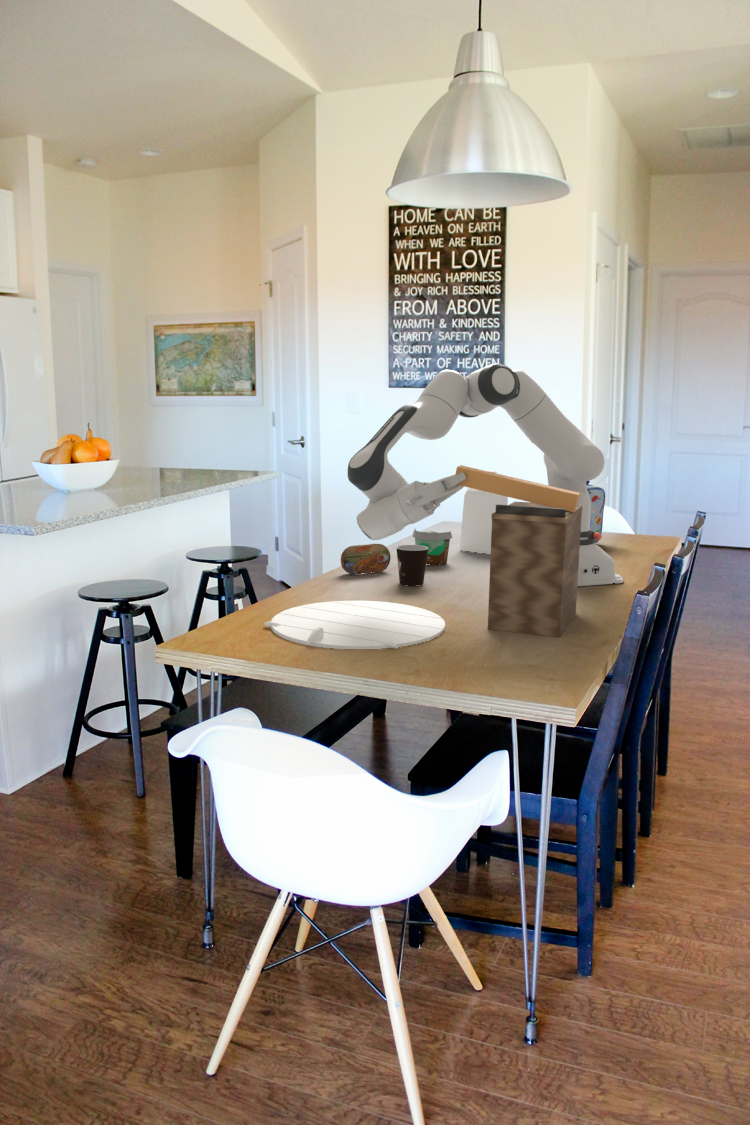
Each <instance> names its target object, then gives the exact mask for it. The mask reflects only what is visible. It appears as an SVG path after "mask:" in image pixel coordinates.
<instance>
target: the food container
mask: <svg viewBox="0 0 750 1125" xmlns="http://www.w3.org/2000/svg"><path fill="white" fill-rule="evenodd" d="M416 529H417V528H414V530H413V532H412V538H414V543H415V544H414V545H421V546H426V547H428V554H427V561H426V564H430V565H429V566H440V565H439V564H444V565H446V564H445V563H447V564H448V558H449V557H448V556H449V549H450V542H451V539H453V535H452V531H450V530H449V531H446V532H436V531H419V530H416Z"/></svg>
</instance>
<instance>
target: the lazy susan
mask: <svg viewBox="0 0 750 1125" xmlns="http://www.w3.org/2000/svg"><path fill="white" fill-rule="evenodd" d="M263 626H265V627H268V628H270V629H271V630H272V632H273V633H274V634H275V635H277V636H278V637H280V638H282V639H284V640H287V641H289V642H292V643H297V644H299V645H305V646H310V647H314V646H315V647H316V648H321V647H323V649H330V648H334V649H333V650H343V649H378V650H382V649H381V648H391V649H396V650H397V649H398V647H400V646H406V647H408V646H407V645H412V644H416V645H418V644H417V643H420V642H424V641H427V640H430V639H432V638H435V637H437V636H438V637H440V636H441V635H442V634H443V633H444V632H445V631H446V621H445V620H444V618H443V617H441V616H440V614H437V613H435V612H433V611H430V610H428V609H425V608H421V607H419V606H418V607H417V606H414V605H410V604H409V605H408V604H402V603H396V602H391V601H390V602H389V601H379V600H378V601H376V600H333V601H324V602H323V601H320V602H313V603H308V604H303V605H299V606H294V607H290V608H287V609H285V610H283V611H281V612H279V613H277V614H275V615H274V616H273V617H272V618H271V620H270V621H269V620H268V621H267V622H266V621H265V622H264V623H263ZM443 631H444V632H443ZM442 632H443V633H442ZM441 633H442V634H441ZM440 634H441V635H440ZM439 635H440V636H439ZM438 637H437V638H438ZM435 639H436V638H435ZM430 641H431V640H430ZM427 642H428V641H427ZM424 643H425V642H424ZM420 644H421V643H420ZM412 646H413V645H412ZM400 648H401V647H400Z"/></svg>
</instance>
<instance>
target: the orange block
mask: <svg viewBox="0 0 750 1125" xmlns="http://www.w3.org/2000/svg"><path fill="white" fill-rule="evenodd" d="M484 470H485V469H484ZM484 470H483V469H479V468H474V467H471V466H470V467H469V466H466V465H458V466H456V471H455V474H454V475H455V476H456V475H458V474H460V473H462V472H465V473H466V475H467V479H466V480H464V481H462V482H460V483H458V484H457V485H460V486H464V487H463V488H468V487H469V488H473V489H477V490H481V491H485V492H490V493H494V494H498V495H502V496H506V497H508V498H511V499H515V500H520V501H522V502H531V503H536V504H540V505H544V506H548V507H553V508H563V509H566V511H569V512H575V511H576V509H577V505H578V501H579V497H580V493H579V492H574V491H570V490H566V489H561V488H557V487H553V486H548V484H543V483H538V482H536V481H535V482H534V481H530V480H526V479H522V478H518V477H513V476H509V475H504V474H500V473H498V472H497V473H492V472H488V471H489V470H486V471H484Z"/></svg>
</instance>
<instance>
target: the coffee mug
mask: <svg viewBox="0 0 750 1125" xmlns="http://www.w3.org/2000/svg"><path fill="white" fill-rule="evenodd" d="M427 554H428V547H426V546H421V545H415V544H404V545H403V544H401V545H397V546H396V556H397V557H396V560H397V569H398V578H399V585H400V584H402V585H401V586H403V585H408V586H407V587H419V586H418V585H421V586H423V585H424V581H425V574H426V568H427V565H426V561H427ZM422 584H423V585H422ZM416 585H417V586H416Z"/></svg>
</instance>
